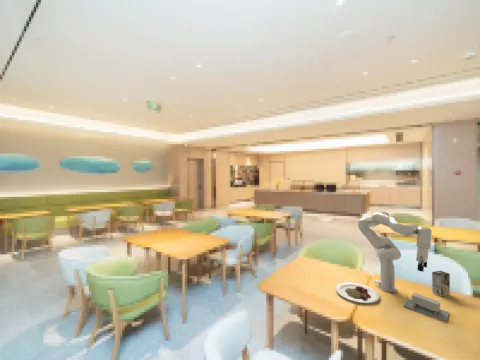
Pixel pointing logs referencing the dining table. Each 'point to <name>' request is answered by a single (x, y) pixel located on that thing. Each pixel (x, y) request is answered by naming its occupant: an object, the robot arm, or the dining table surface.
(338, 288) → the plated food
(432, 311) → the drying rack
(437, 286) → the coffee box
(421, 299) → the light grey block
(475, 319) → the dining table surface
